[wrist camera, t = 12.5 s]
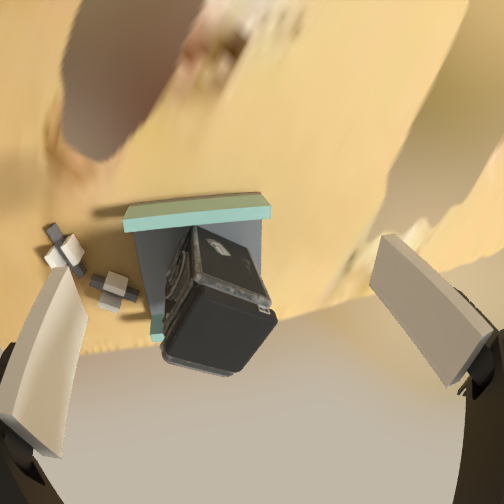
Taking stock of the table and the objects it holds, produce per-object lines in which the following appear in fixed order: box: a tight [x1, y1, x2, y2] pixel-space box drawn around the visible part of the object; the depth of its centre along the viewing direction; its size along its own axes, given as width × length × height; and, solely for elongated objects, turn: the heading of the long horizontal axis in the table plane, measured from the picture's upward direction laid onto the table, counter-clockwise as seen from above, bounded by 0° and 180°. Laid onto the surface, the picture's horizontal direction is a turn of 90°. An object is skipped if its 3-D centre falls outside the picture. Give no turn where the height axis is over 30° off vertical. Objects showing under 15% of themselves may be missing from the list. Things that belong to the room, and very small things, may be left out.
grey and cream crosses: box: [46, 223, 139, 303], centre depth 36 cm, size 16×4×1 cm, turn 39°
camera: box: [160, 225, 278, 377], centre depth 32 cm, size 10×11×15 cm
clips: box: [44, 234, 129, 314], centre depth 35 cm, size 13×5×3 cm, turn 40°
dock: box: [122, 192, 271, 342], centre depth 37 cm, size 18×16×5 cm
